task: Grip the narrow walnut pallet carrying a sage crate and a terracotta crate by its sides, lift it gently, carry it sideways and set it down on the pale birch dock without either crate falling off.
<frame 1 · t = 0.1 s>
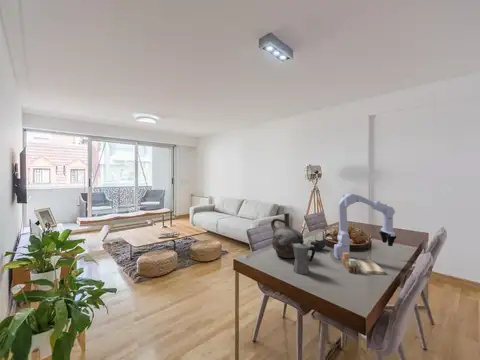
hand: (387, 244, 152), 10 cm above the table, tool pointing down, fingers open, 7 cm apart
pallet: (349, 267, 139), on the table, touching crate sage
crate sage: (352, 264, 134), point 4 cm above the table, touching pallet
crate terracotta: (346, 257, 145), point 4 cm above the table
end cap: (317, 250, 171), on the table
coffeepot: (302, 271, 133), on the table
dock: (369, 267, 139), on the table
vessel: (287, 255, 160), on the table
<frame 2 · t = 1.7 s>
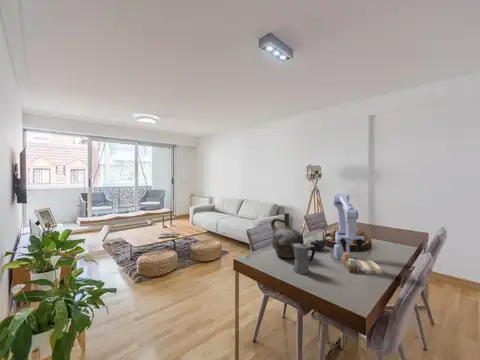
hand: (351, 251, 139), 9 cm above the table, tool pointing down, fingers open, 7 cm apart
pallet: (349, 267, 139), on the table, touching crate sage, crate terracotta
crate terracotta: (346, 258, 144), point 4 cm above the table, touching pallet
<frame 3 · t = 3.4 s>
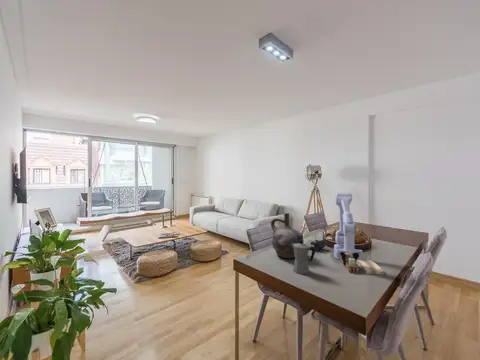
hand: (349, 264, 139), 1 cm above the table, tool pointing down, fingers closed on pallet, 5 cm apart
pallet: (349, 267, 139), on the table, touching crate sage, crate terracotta, gripper
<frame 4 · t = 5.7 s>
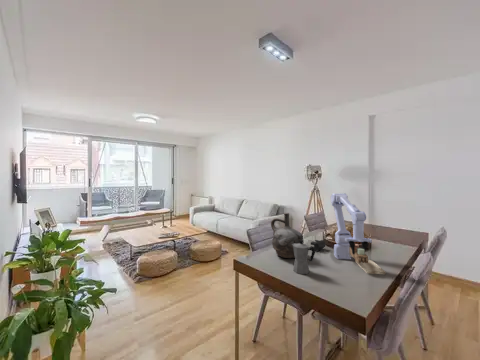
hand: (358, 253, 139), 8 cm above the table, tool pointing down, fingers closed on pallet, 5 cm apart
pallet: (358, 258, 139), point 6 cm above the table, touching crate sage, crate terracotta, gripper
crate sage: (360, 253, 135), point 10 cm above the table, touching pallet
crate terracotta: (355, 249, 143), point 10 cm above the table, touching pallet
everything else where it was.
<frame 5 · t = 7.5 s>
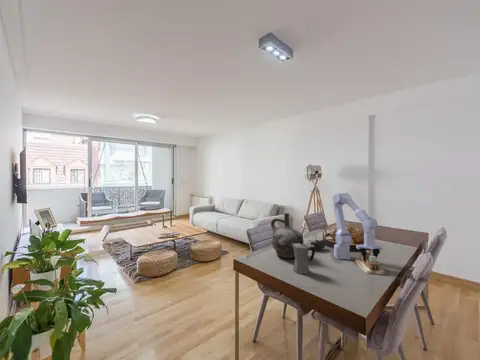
hand: (369, 260, 139), 4 cm above the table, tool pointing down, fingers closed on pallet, 5 cm apart
pallet: (369, 265, 139), point 1 cm above the table, touching crate sage, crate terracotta, dock, gripper
crate sage: (372, 261, 134), point 5 cm above the table, touching pallet
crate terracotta: (366, 256, 143), point 5 cm above the table, touching pallet
everything else where it was.
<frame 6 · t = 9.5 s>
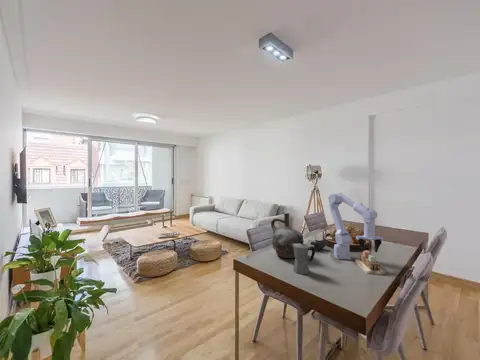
hand: (369, 251, 140), 9 cm above the table, tool pointing down, fingers open, 7 cm apart
pallet: (369, 265, 139), point 1 cm above the table, touching crate sage, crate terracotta, dock
everything else where it was.
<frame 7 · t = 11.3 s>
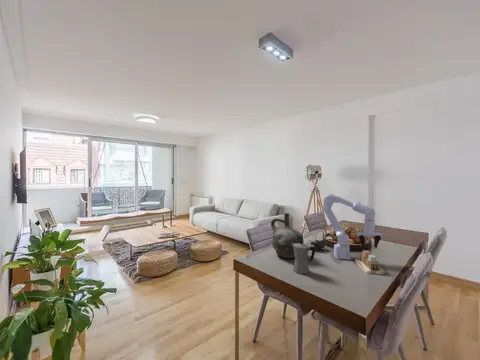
hand: (369, 247, 148), 9 cm above the table, tool pointing down, fingers open, 7 cm apart
nothing on the table moved.
at the end: pallet 0.1 cm off-centre on the dock, point 1.5 cm above the dock's base; crate sage inside the target area on the dock (4.3 cm from its centre), point 5.5 cm above the dock's base; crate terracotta inside the target area on the dock (4.2 cm from its centre), point 5.5 cm above the dock's base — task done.
